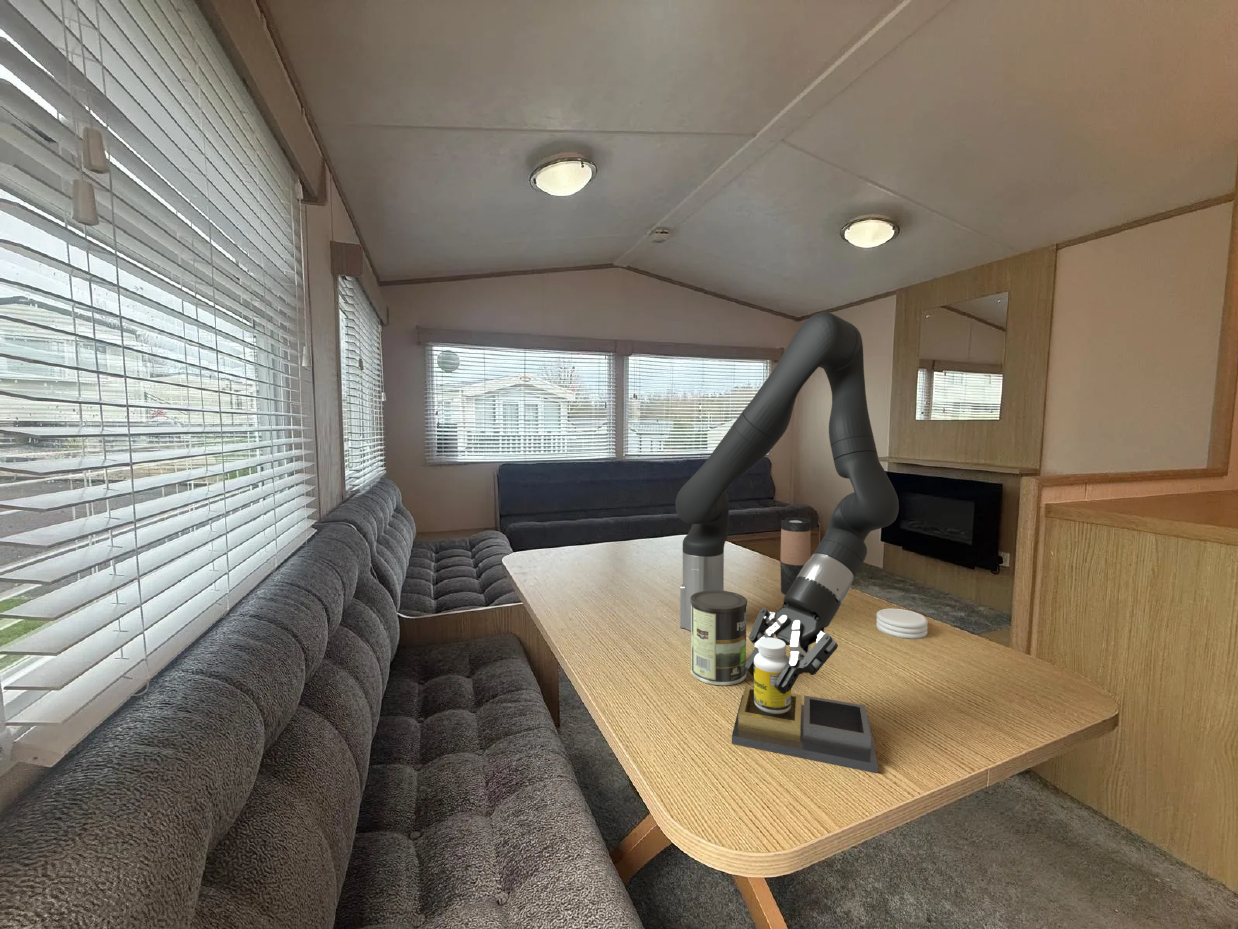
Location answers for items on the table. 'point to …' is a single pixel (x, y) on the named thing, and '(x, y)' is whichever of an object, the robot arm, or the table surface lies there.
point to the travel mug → (793, 549)
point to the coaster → (902, 623)
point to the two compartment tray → (809, 731)
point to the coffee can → (718, 637)
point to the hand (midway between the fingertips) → (763, 681)
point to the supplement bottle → (770, 676)
